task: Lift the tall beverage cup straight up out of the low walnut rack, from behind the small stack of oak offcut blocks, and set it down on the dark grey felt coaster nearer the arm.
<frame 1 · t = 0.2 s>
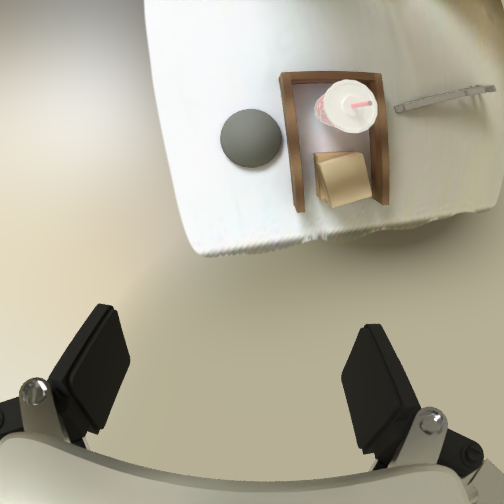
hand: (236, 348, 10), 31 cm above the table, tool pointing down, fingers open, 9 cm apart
offcut lower: (335, 172, 37), on the table
offcut upper: (340, 176, 34), point 3 cm above the table
coaster: (250, 138, 35), on the table
caliper: (440, 96, 30), on the table
rack: (333, 138, 34), on the table
beverage cup: (330, 110, 33), resting in rack
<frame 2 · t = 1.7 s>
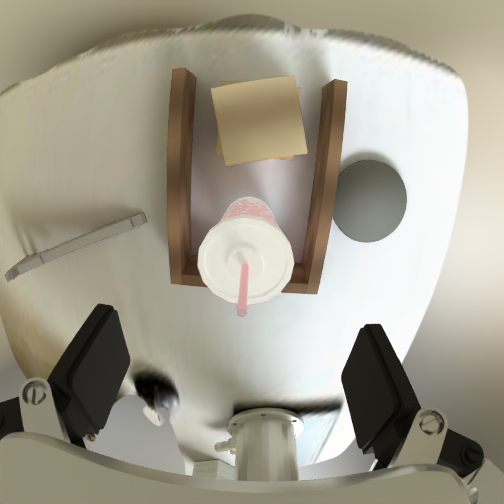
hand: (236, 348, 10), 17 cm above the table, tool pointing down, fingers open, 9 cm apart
offcut upper: (259, 121, 19), point 3 cm above the table, touching offcut lower
coaster: (369, 201, 24), on the table
caliper: (76, 239, 27), on the table
rack: (252, 177, 24), on the table
supplement box: (215, 464, 49), on the table
beverage cup: (249, 220, 26), resting in rack
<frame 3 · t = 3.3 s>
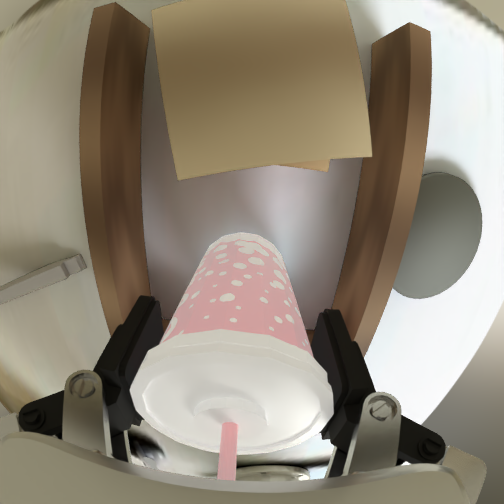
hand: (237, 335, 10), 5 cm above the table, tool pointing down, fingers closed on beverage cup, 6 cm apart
offcut lower: (258, 95, 12), on the table, touching offcut upper
offcut upper: (260, 84, 9), point 3 cm above the table, touching offcut lower
coaster: (433, 237, 14), on the table
caliper: (13, 281, 17), on the table
rack: (247, 199, 13), on the table
beverage cup: (242, 269, 15), resting in rack, touching gripper
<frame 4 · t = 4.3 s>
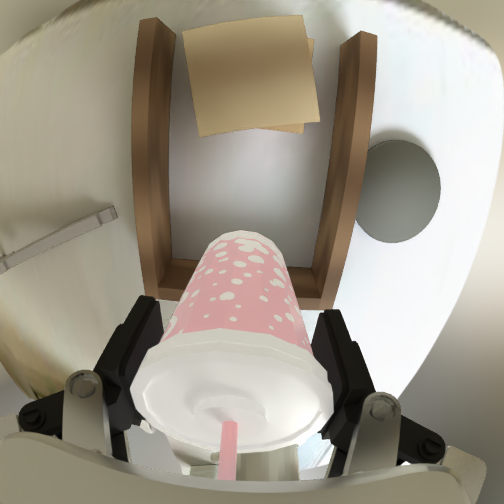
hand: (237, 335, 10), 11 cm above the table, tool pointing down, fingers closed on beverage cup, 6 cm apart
offcut lower: (255, 83, 16), on the table, touching offcut upper
offcut upper: (251, 79, 13), point 3 cm above the table, touching offcut lower
coaster: (396, 192, 18), on the table
caliper: (43, 239, 21), on the table
rack: (248, 159, 18), on the table
supplement box: (213, 468, 47), on the table
beverage cup: (242, 267, 15), point 5 cm above the table, touching gripper
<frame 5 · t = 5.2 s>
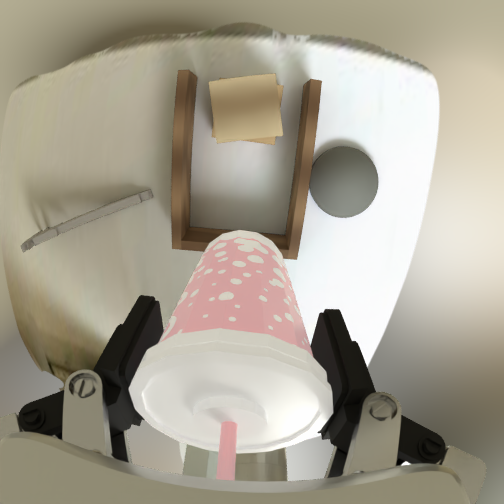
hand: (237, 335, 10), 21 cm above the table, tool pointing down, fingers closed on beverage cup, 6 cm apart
offcut upper: (247, 109, 23), point 3 cm above the table, touching offcut lower
coaster: (344, 182, 29), on the table
caliper: (88, 214, 31), on the table
rack: (242, 160, 28), on the table
supplement box: (208, 439, 55), on the table
beverage cup: (242, 267, 15), point 16 cm above the table, touching gripper
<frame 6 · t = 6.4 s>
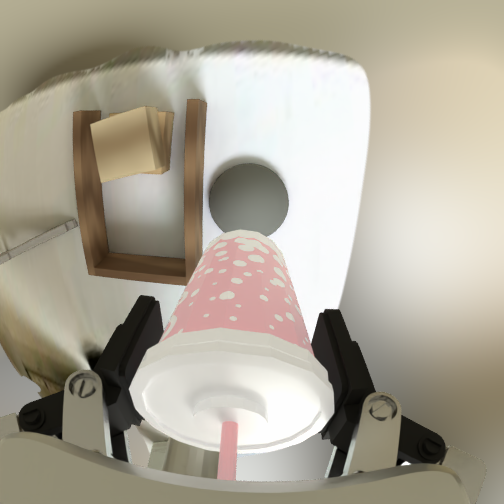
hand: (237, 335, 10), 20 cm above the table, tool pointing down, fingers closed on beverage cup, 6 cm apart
offcut lower: (145, 140, 26), on the table, touching offcut upper
offcut upper: (134, 142, 23), point 3 cm above the table, touching offcut lower
coaster: (248, 202, 28), on the table
caliper: (34, 239, 31), on the table
rack: (144, 188, 27), on the table
supplement box: (172, 446, 54), on the table
beverage cup: (242, 267, 15), point 14 cm above the table, touching gripper
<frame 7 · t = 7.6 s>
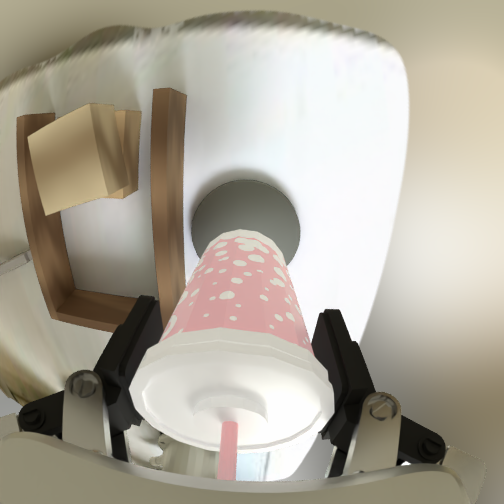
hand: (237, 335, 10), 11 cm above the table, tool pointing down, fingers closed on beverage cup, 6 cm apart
offcut lower: (107, 150, 18), on the table, touching offcut upper
offcut upper: (87, 156, 16), point 3 cm above the table, touching offcut lower
coaster: (245, 232, 21), on the table
rack: (108, 213, 20), on the table
beverage cup: (242, 267, 15), point 6 cm above the table, touching gripper
when the fingers open (7 cm above the table, at t = 9.0 s): beverage cup drops 1 cm, resting on coaster.
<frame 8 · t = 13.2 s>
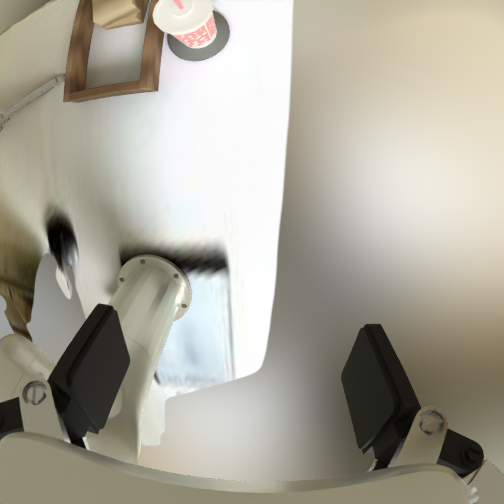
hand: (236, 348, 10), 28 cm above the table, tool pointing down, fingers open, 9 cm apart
offcut lower: (129, 10, 24), on the table, touching offcut upper
offcut upper: (120, 4, 21), point 3 cm above the table, touching offcut lower
coaster: (198, 35, 26), on the table
caliper: (26, 106, 29), on the table
rack: (121, 38, 26), on the table
beverage cup: (199, 34, 26), resting on coaster
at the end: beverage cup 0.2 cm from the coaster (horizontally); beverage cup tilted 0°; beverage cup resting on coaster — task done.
